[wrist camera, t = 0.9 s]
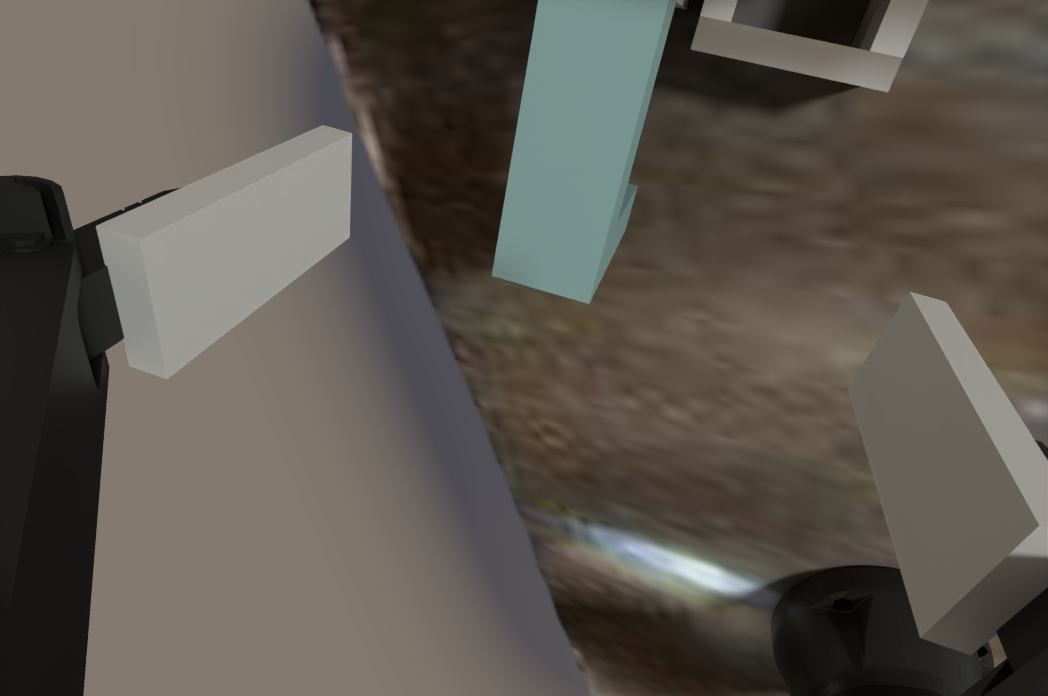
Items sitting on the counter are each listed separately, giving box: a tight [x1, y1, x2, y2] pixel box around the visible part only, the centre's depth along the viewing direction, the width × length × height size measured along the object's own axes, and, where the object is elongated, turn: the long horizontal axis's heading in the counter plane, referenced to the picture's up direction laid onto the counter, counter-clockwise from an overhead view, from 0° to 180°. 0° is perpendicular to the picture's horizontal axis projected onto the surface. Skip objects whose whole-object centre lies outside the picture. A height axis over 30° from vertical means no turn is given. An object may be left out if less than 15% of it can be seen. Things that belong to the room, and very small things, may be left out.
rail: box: [492, 0, 689, 304], centre depth 31 cm, size 16×5×13 cm, turn 169°
